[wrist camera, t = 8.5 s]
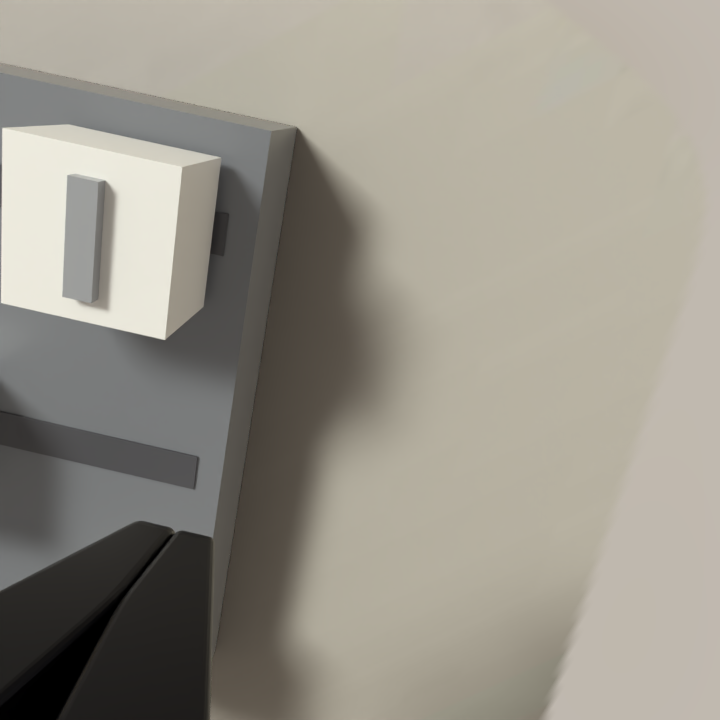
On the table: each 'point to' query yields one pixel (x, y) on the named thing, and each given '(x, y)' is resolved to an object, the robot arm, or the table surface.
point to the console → (140, 353)
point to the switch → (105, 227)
